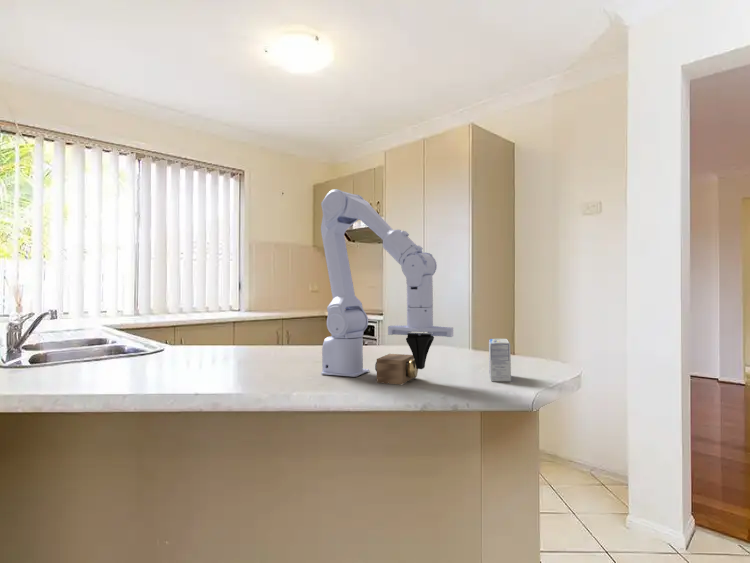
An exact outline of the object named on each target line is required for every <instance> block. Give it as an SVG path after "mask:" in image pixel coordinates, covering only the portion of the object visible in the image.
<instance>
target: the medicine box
mask: <svg viewBox="0 0 750 563" xmlns="http://www.w3.org/2000/svg"><path fill="white" fill-rule="evenodd" d="M488 352H489V353H488V356H489V357H488V360H489V378H490V381H491V382H498V383H501V382H502V383H511V382H512V367H511V366H512V365H511V364H512V363H511V359H512V358H511V343H510V341H509V340H508V339H507V338H490V339H489V340H488Z"/></svg>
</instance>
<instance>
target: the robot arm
mask: <svg viewBox="0 0 750 563" xmlns="http://www.w3.org/2000/svg"><path fill="white" fill-rule="evenodd" d="M320 205H321V210H322V218H321V224H320V233H321V239H322V244H323V245H322V246H323V251H324V257H325V261H326V266H327V273H328V279H329V283H330V290H331V297H332V300H331V301H330V302H329V304H328V305H327V307H326V311H327V316H326V317H327V318H326V328H327V330H328V332H329V333H330V336H327V337H326V338H324V340H323V343H322V347H321V348H322V349H321V351H322V352H321V353H322V356H321V358H322V359H321V360H322V366H321V367H322V371H321V372H320V374H321V375H330V376H341V377H354V378H356V377H359V376H361V375H363V374H366V373H369V372H370V369H369V368H364V361H363V360H364V357H363V356H364V353H363V352H364V351H363V350H364V348H363V347H364V345H363V340H364V339H363V336H364V332H365V331H366V329H367V328H368V326H369V317H368V315H367V312H366V311H365V310H364V307H363V304H362V303H363V302H362V301H361V300H360V299H359V298H358V297H357V296H356V295H355V289H354V282H353V276H352V272H351V267H350V260H349V255H348V249H347V244H346V239H345V233H346V232H347V230H348V229H350V227H352V226H353V225H354V224H355V223H356V222H357V221H358V220H360V221H361V222H362V223H363V224H364V225H365V226H367V227H368V228H369V230H371V231H372V232H373V233H374V234H375V235H376V236H378V237H379V238H380V239H381V240H382V248H383V249H384V250H385V251H386V252H387V253H388V254H389V256H391V257H392V258H393V259H394V260H395V261H396V263H398V264H399V266H400V267H401V271H402V273H403V275H404V277H405V279H406V325H388V326H387V335H389V336H390V335H391V336H393V335H396V336H397V335H400V336H402V335H403V336H406V337H405V341H406V343H407V345H408V347H409V349H410V351H411V353H412V354H411V355H413V357H414V360H415V364H416V369H418V370H423V369H425V366H426V360H427V357H428V353H429V350H430V349H431V348H430V347H431V346H432V343H433V341H434V338H435V337H445V338H452V337H454V327H451V326H437V325H436V326H435V325H434V299H433V298H434V297H433V295H434V293H433V292H434V291H433V290H434V289H433V288H434V287H433V286H434V284H433V282H434V281H433V276H434V275H435V273H436V271H437V261H436V259H435V257H434V256H433V254H431V253H429V252H423V247H422V246H421V245H417V244H416V242H414V241H413V240H412V239H411V238H409V236H410V234H409V232H408V231H407V230H402V229H398V228H397V229H393V228H392V227H391V226H390V225H389V223H388V222H386V220H384V218H383V217H382V216H381V215H380V214H379V212H377V210H376V209H375V208H374V207H373V206H371V204H370V202H369V201H367V200H366V199H364V197H363V196H361V195H360V194H355V193H350V192H346V191H343V190H341V189H336V188H335V189H331V190H329V191H328V192H327V193H326V195H325V197H324V198H323V200H322V201H321V202H320Z"/></svg>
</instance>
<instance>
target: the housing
mask: <svg viewBox="0 0 750 563" xmlns="http://www.w3.org/2000/svg"><path fill="white" fill-rule="evenodd" d="M409 360H414V357H413V354H405V353H404V354H399V353H388V354H385V355H384V356H381V357H378V358H376V362H377V372H376V383H377V384H388V383H389V385H399V386H400V385H402V386H403V385H404V384H406V383H408V382H410V381H411V380H413V378H409V377H408V374H406V363H408V362H409ZM407 381H408V382H407Z"/></svg>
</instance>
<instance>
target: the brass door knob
mask: <svg viewBox="0 0 750 563" xmlns="http://www.w3.org/2000/svg"><path fill="white" fill-rule="evenodd" d="M374 366H375V367H374V370H375V372H376V373H377V361H376V362H375V364H374ZM418 372H419V369H416V364H415V360H409V362H408V363H406V374H408V377H409V378H412V379H416V378H417V377H418Z"/></svg>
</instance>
